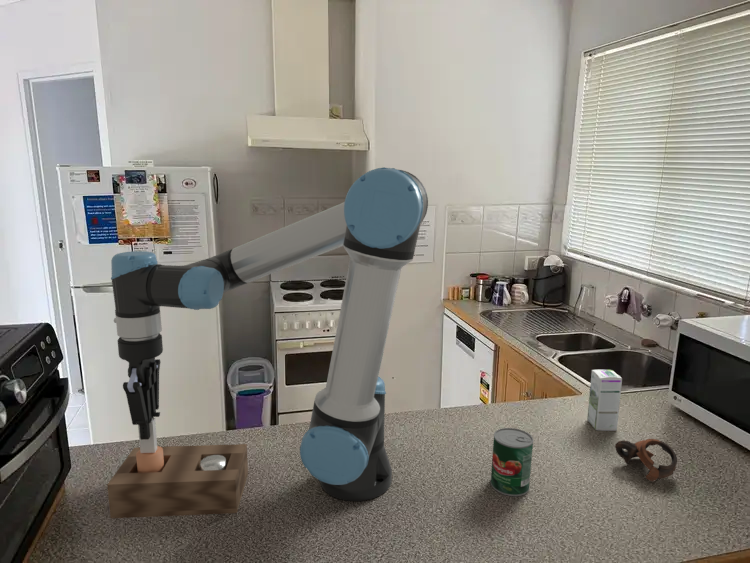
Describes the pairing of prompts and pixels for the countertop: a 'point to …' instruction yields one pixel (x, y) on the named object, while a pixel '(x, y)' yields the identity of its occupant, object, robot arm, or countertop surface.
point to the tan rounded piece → (150, 461)
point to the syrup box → (604, 400)
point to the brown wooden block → (180, 484)
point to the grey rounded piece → (213, 463)
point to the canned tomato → (511, 461)
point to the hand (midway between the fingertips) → (149, 450)
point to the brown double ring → (647, 456)
